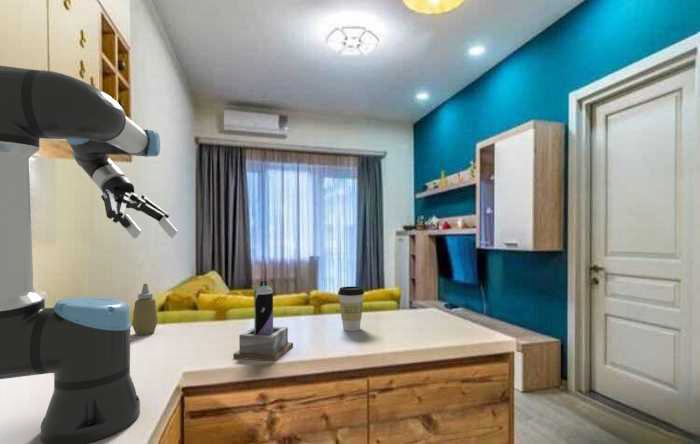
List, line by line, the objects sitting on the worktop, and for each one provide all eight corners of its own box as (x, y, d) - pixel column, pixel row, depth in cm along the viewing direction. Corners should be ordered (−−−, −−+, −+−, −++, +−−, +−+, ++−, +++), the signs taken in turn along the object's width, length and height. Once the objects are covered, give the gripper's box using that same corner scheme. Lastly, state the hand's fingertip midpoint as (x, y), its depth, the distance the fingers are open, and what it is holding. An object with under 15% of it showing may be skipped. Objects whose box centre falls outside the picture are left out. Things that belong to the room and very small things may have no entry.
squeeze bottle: (146, 336, 125) (146, 285, 126) (126, 336, 127) (127, 285, 127) (162, 330, 133) (162, 282, 134) (144, 330, 134) (144, 282, 135)
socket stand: (275, 360, 99) (275, 338, 99) (233, 357, 102) (233, 336, 102) (293, 346, 112) (292, 326, 112) (255, 344, 115) (255, 324, 115)
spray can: (261, 352, 103) (260, 282, 104) (251, 348, 107) (250, 281, 107) (277, 347, 107) (276, 280, 108) (266, 344, 111) (266, 279, 111)
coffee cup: (355, 333, 125) (355, 291, 125) (333, 330, 130) (332, 288, 131) (369, 327, 133) (369, 287, 134) (347, 324, 138) (347, 285, 139)
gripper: (140, 197, 117) (180, 243, 113) (64, 188, 93) (110, 245, 89) (154, 180, 116) (194, 225, 112) (80, 167, 92) (128, 224, 88)
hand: (157, 234), depth 100 cm, fingers open, 13 cm apart
